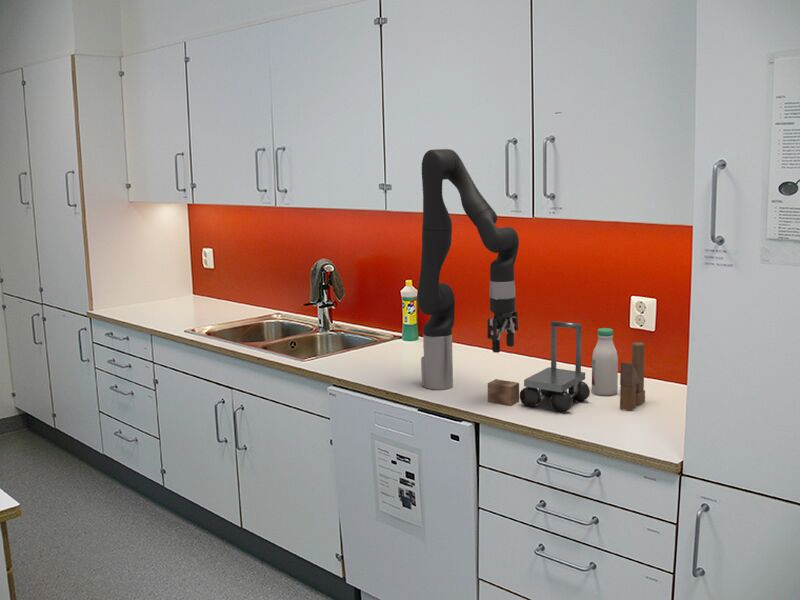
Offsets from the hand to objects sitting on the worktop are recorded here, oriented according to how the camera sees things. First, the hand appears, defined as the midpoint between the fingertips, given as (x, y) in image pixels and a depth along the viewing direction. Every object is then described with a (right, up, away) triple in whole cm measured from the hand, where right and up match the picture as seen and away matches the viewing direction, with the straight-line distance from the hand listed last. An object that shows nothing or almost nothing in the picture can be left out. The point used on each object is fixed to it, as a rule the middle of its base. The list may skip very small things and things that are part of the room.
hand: (503, 349), depth 252 cm
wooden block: (+37, -16, -4) cm, 41 cm away
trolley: (+15, -16, 0) cm, 22 cm away
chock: (0, -16, +3) cm, 16 cm away
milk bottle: (+32, -14, +9) cm, 36 cm away
